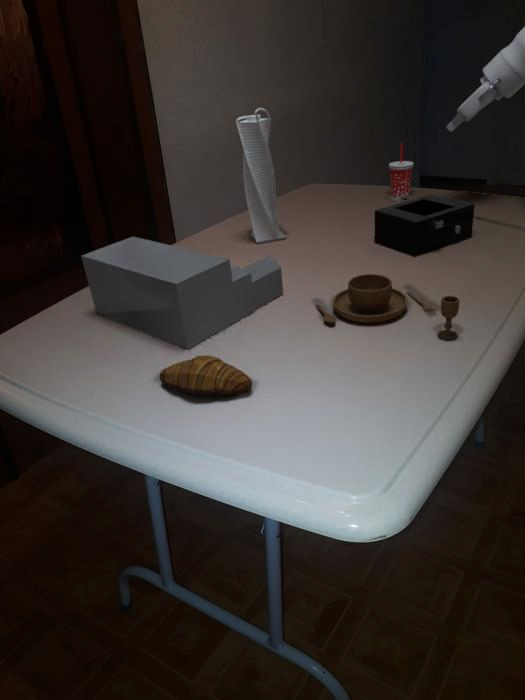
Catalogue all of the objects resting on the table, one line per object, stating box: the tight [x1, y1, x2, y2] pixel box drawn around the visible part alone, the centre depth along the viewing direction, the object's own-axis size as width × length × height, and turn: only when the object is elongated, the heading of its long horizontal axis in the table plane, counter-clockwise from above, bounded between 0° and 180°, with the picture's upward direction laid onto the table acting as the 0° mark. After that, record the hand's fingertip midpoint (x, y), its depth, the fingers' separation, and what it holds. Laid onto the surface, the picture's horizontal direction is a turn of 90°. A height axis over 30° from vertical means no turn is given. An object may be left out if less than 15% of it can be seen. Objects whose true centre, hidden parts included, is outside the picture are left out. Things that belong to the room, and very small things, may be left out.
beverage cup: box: [388, 142, 414, 202], centre depth 143 cm, size 6×6×14 cm
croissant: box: [159, 354, 253, 396], centre depth 74 cm, size 14×7×5 cm, turn 71°
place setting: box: [315, 273, 460, 341], centre depth 87 cm, size 18×20×6 cm
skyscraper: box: [235, 107, 287, 245], centre depth 121 cm, size 8×8×28 cm
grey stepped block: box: [80, 236, 284, 350], centre depth 97 cm, size 25×23×11 cm
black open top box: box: [374, 193, 476, 258], centre depth 115 cm, size 16×13×7 cm
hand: (453, 125), depth 132 cm, fingers open, 8 cm apart
